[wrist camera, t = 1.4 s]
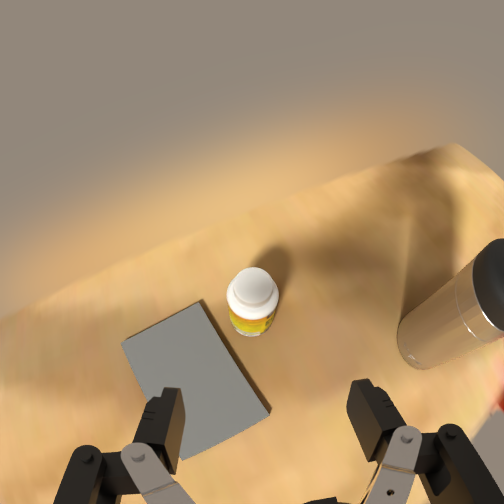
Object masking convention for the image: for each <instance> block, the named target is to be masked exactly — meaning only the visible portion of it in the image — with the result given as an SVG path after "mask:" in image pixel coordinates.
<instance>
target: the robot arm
mask: <svg viewBox="0 0 504 504" xmlns="http://www.w3.org/2000/svg"><path fill="white" fill-rule="evenodd" d="M502 337H504V239H496V240H494V241H492V242H490V243H489V244H488V245H487V246H486V247H485V248H484V249H483V250H482V251H481V252H480V253H479V254H478V255H477V256H476V257H475V258H474V259H473V260H472V261H471V262H469V263H468V264H467V265H466V266H465V267H464V268H463V269H462V270H461V271H460V272H459V273H458V274H456V275H455V276H454V277H453V278H452V279H451V280H449V281H448V282H447V283H446V284H445V285H444V286H442V287H441V288H440V289H439V290H438V291H436V292H435V293H434V294H433V295H431V296H430V297H429V298H428V299H426V300H425V301H424V302H423V303H421V304H420V305H419V306H417V307H416V308H415V309H413V310H412V311H411V312H409V313H408V314H407V315H406V316H405V317H404V318H403V320H402V321H401V323H400V325H399V328H398V333H397V342H398V347H399V350H400V353H401V355H402V356H403V358H404V359H405V361H406V362H407V363H408V364H410V365H411V366H412V367H414V368H417V369H422V370H425V369H430V368H433V367H435V366H438V365H441V364H444V363H446V362H449V361H451V360H454V359H456V358H459V357H461V356H464V355H466V354H468V353H470V352H473V351H475V350H477V349H479V348H482V347H484V346H486V345H488V344H490V343H492V342H494V341H496V340H498V339H500V338H502ZM346 407H347V414H348V417H349V419H350V421H351V424H352V426H353V428H354V431H355V433H356V435H357V438H358V440H359V442H360V445H361V447H362V449H363V452H364V454H365V457H366V459H367V461H368V462H372V461H377V464H378V465H377V467H376V469H375V471H374V474H373V476H372V478H371V480H370V482H369V484H368V486H367V488H366V491H365V493H364V495H363V496H362V498H361V500H360V502H359V503H358V504H406V502H407V499H408V496H409V493H410V490H411V487H412V484H413V481H414V478H415V474H418V475H419V477H420V480H421V482H422V484H423V486H424V489H425V491H426V493H427V496H428V498H429V500H430V503H431V504H504V496H503V494H502V492H501V491H500V489H499V487H498V485H497V484H496V482H495V480H494V479H493V478H492V475H491V474H490V472H489V470H488V469H487V467H486V466H485V464H484V462H483V461H482V459H481V458H480V456H479V455H478V453H477V451H476V450H475V448H474V447H473V445H472V444H471V442H470V441H469V439H468V437H467V436H466V434H465V433H464V432H463V430H462V429H461V428H460V427H459V426H457V425H455V424H445V425H443V426H441V427H440V429H439V430H438V432H436V433H421V432H420V431H419V430H418V429H417V428H415V427H412V426H407V425H406V423H405V421H404V420H403V418H402V417H401V415H400V413H399V412H398V410H397V408H396V407H395V406H394V404H393V402H392V401H391V400H390V397H389V396H388V394H387V393H386V392H385V391H384V390H383V389H381V388H380V387H374V386H373V385H372V383H371V381H370V380H369V379H368V378H367V379H360V380H354V381H353V382H352V384H351V388H350V392H349V396H348V400H347V406H346ZM141 418H142V419H141V420H140V423H139V426H138V428H137V431H136V434H135V437H134V440H133V442H132V443H131V444H129V445H127V446H125V447H124V448H123V450H122V451H120V452H111V453H101V452H100V450H99V449H98V448H96V447H94V446H91V445H83V446H80V447H78V448H77V449H75V451H74V452H73V454H72V456H71V459H70V461H69V463H68V466H67V468H66V471H65V473H64V476H63V479H62V481H61V484H60V486H59V489H58V492H57V494H56V497H55V500H54V503H53V504H120V502H121V497H122V495H127V494H142V496H143V498H144V499H145V501H146V503H147V504H195V502H194V501H193V500H192V499H191V498H190V496H189V495H188V494H187V493H186V492H185V490H184V489H183V488H182V487H181V485H180V484H179V483H178V482H175V481H174V479H173V478H172V477H171V475H170V474H173V475H176V469H177V464H178V458H179V453H180V447H181V442H182V436H183V431H184V426H185V419H186V414H185V407H184V402H183V397H182V392H181V389H180V388H174V387H164V388H163V391H162V394H161V397H155V396H153V397H152V398H151V399H150V400H149V401H148V402H147V404H146V406H145V409H144V413H143V414H142V417H141ZM304 504H349V503H342V502H337V499H336V497H331V498H326V499H320V500H314V501H310V502H307V503H304Z"/></svg>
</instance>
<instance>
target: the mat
mask: <svg viewBox="0 0 504 504" xmlns="http://www.w3.org/2000/svg"><path fill="white" fill-rule="evenodd" d="M121 345H122V348H123V350H124V352H125V355H126V357H127V359H128V362H129V364H130V366H131V368H132V370H133V373H134V375H135V377H136V379H137V381H138V383H139V385H140V387H141V389H142V391H143V393H144V395H145V397H146V399H147V401H149V400H150V399H151V398H152V397H153V396H155V397H161V394H162V391H163V388H164V387H174V388H180V389H181V392H182V397H183V402H184V407H185V414H186V419H185V426H184V431H183V436H182V442H181V447H180V453H179V456H180V458H181V460H182V461H183V460H185V459H187V458H190V457H192V456H194V455H196V454H198V453H200V452H203V451H205V450H207V449H209V448H211V447H213V446H215V445H217V444H219V443H221V442H223V441H225V440H227V439H229V438H231V437H232V436H234V435H236V434H238V433H240V432H242V431H244V430H245V429H247V428H249V427H251V426H252V425H254V424H256V423H258V422H259V421H261V420H263V419H265V418H266V417H268V416H270V415H269V413H268V412H267V410H266V409H265V407H264V406H263V405H262V403H261V402H260V400H259V399H258V397H257V396H256V394H255V393H254V391H253V390H252V388H251V387H250V385H249V384H248V382H247V380H246V379H245V377H244V376H243V374H242V373H241V371H240V370H239V368H238V366H237V365H236V363H235V362H234V360H233V359H232V357H231V355H230V354H229V352H228V350H227V349H226V347H225V346H224V344H223V342H222V341H221V339H220V337H219V336H218V334H217V332H216V331H215V329H214V327H213V326H212V324H211V322H210V321H209V319H208V317H207V316H206V314H205V312H204V310H203V309H202V307H201V305H200V303H199V302H198V303H196V304H194V305H192V306H190V307H188V308H187V309H185V310H183V311H181V312H179V313H177V314H175V315H173V316H171V317H170V318H168V319H166V320H164V321H162V322H160V323H158V324H156V325H154V326H152V327H151V328H149V329H147V330H145V331H143V332H141V333H139V334H137V335H135V336H133V337H131V338H129V339H127V340H125V341H124V342H122V343H121Z"/></svg>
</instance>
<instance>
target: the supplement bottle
mask: <svg viewBox="0 0 504 504" xmlns="http://www.w3.org/2000/svg"><path fill="white" fill-rule="evenodd" d="M278 299H279V292H278V288H277V285H276V283H275V282H274V280H273V279H272V278H271V276H270V275H269V274H268V273H267V272H266V271H265V270H263V269H261V268H257V267H250V268H246V269H244V270H242V271H240V272H239V273H238V274H237V276H236V277H235V278H234V279H233V280H232V281H231V282H230V284H229V286H228V289H227V302H228V308H229V315H230V320H231V323H232V325H233V327H234V328H235V330H236V331H238V332H239V333H240V334H242V335H245V336H258V335H261V334H263V333H264V332H266V331H267V330H268V329H269V327H270V326H271V324H272V321H273V318H274V314H275V311H276V307H277V304H278Z"/></svg>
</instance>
